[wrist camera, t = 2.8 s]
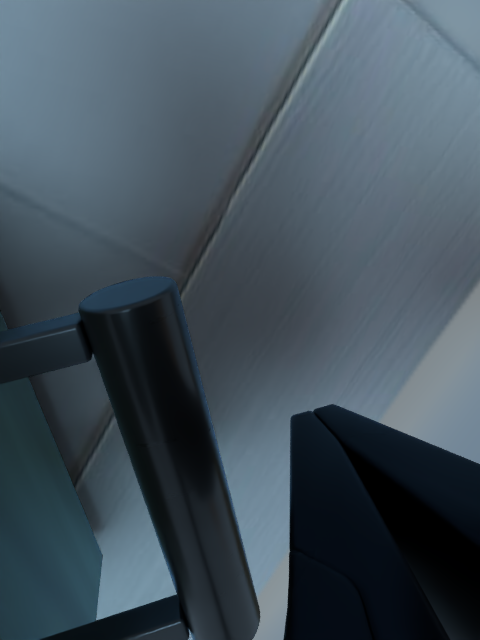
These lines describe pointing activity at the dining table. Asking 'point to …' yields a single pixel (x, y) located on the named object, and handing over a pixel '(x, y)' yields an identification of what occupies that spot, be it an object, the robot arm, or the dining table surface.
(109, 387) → the drawer
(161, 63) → the dining table surface
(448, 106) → the dining table surface
